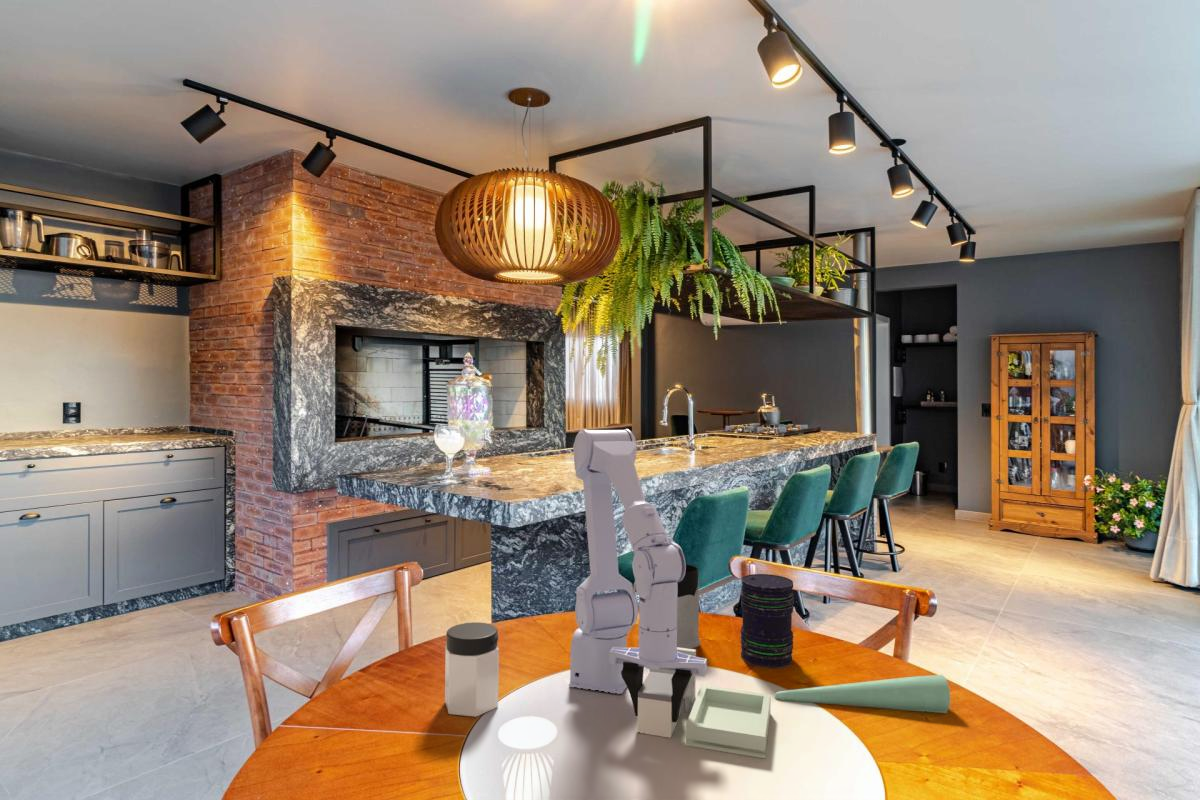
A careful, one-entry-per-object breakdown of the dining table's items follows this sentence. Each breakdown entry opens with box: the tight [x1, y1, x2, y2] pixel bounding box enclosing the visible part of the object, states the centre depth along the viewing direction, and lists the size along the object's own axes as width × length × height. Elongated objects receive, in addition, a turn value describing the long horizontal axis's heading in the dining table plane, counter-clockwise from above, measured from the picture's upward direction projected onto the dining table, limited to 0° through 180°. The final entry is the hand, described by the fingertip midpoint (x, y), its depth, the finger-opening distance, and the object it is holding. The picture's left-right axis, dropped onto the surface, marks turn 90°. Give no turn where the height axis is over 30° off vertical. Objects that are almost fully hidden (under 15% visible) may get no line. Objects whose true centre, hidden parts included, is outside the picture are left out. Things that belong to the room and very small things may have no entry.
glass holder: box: [632, 564, 702, 649], centre depth 137 cm, size 9×14×15 cm, turn 102°
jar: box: [444, 621, 500, 718], centre depth 108 cm, size 9×8×12 cm
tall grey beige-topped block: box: [637, 670, 682, 738], centre depth 102 cm, size 5×8×6 cm, turn 163°
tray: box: [685, 684, 772, 760], centre depth 101 cm, size 11×14×3 cm
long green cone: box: [774, 674, 951, 714], centre depth 110 cm, size 5×6×27 cm
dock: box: [649, 647, 697, 713], centre depth 110 cm, size 8×5×8 cm
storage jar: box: [739, 573, 795, 669], centre depth 129 cm, size 10×10×15 cm
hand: (656, 716), depth 100 cm, fingers closed on tall grey beige-topped block, 5 cm apart
